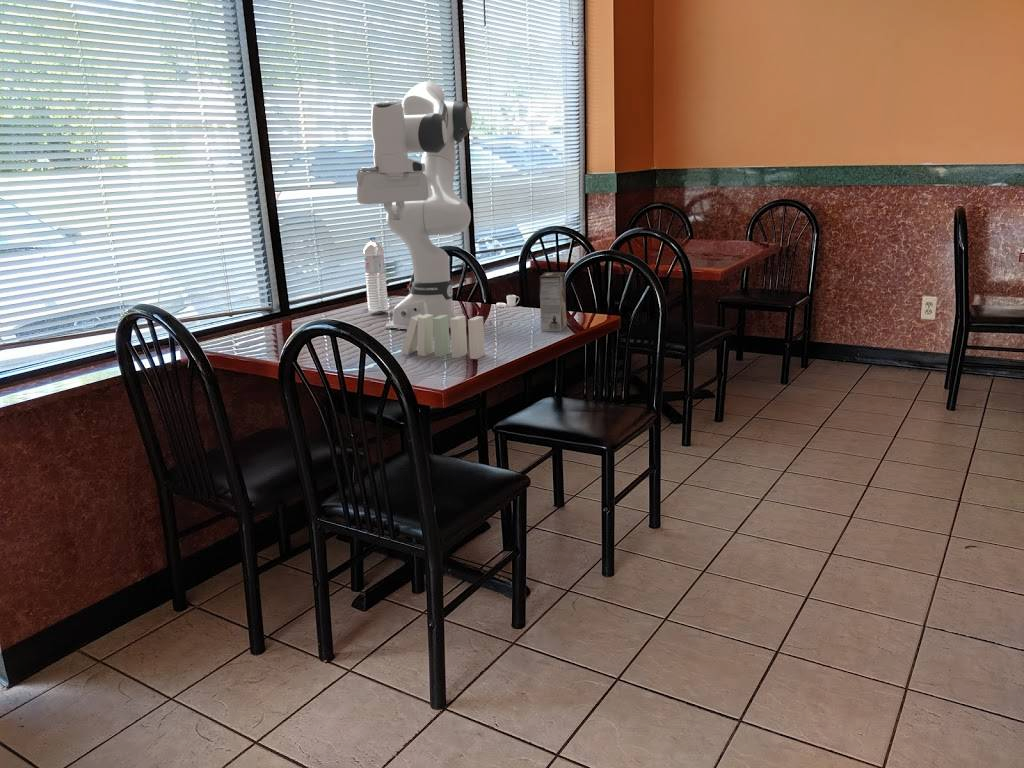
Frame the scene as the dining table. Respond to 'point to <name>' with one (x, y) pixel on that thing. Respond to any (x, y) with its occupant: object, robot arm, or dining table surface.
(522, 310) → the dining table surface
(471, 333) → the domino
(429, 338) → the domino
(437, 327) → the domino
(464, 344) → the domino
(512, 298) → the teacup and saucer
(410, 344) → the domino
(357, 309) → the dining table surface
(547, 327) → the coffee box
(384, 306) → the water bottle
